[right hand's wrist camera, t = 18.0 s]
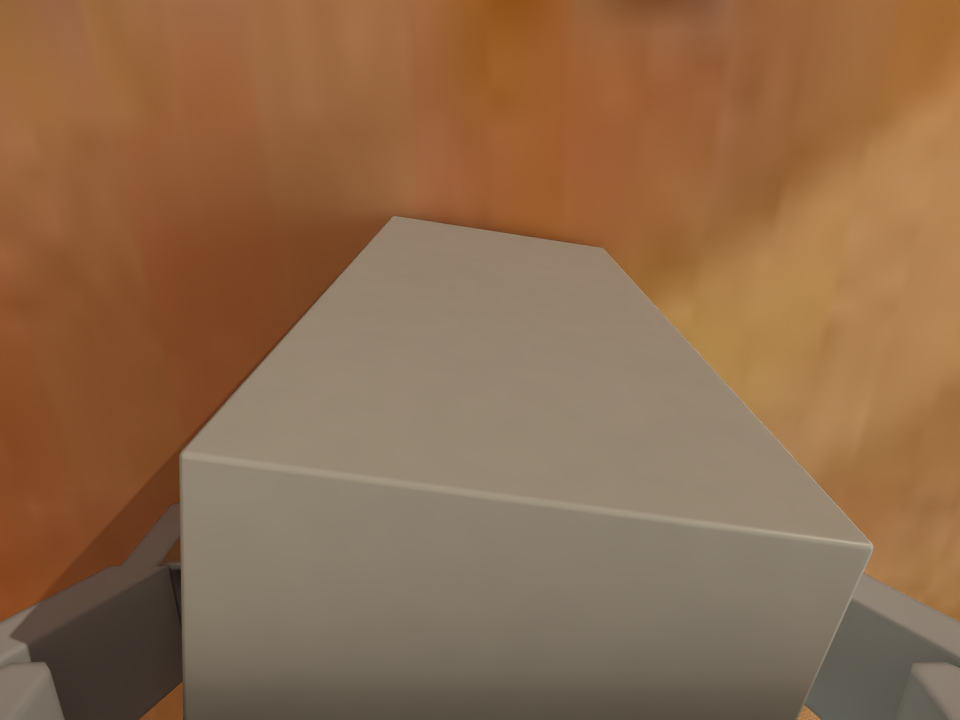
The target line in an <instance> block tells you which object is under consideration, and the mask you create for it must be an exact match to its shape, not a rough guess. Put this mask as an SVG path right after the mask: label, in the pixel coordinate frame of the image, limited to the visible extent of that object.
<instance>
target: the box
mask: <svg viewBox="0 0 960 720" xmlns="http://www.w3.org/2000/svg"><path fill="white" fill-rule="evenodd" d="M179 487H180V546H181V606H182V665H183V720H797V719H798V717H799V715H800V712H801V710H802V708H803V706H804V703H805V701H806V699H807V697H808V695H809V692H810V690H811V688H812V686H813V683H814V681H815V679H816V677H817V674H818V672H819V670H820V668H821V666H822V663H823V661H824V659H825V657H826V654H827V652H828V650H829V648H830V646H831V643H832V641H833V639H834V637H835V634H836V632H837V630H838V628H839V625H840V623H841V621H842V619H843V617H844V614H845V612H846V610H847V608H848V605H849V603H850V601H851V599H852V596H853V594H854V592H855V590H856V588H857V585H858V583H859V581H860V579H861V576H862V574H863V572H864V570H865V568H866V565H867V563H868V561H869V559H870V556H871V554H872V552H873V545H872V543H871V542H870V541H869V540H868V539H867V537H866V536H865V535H864V534H863V533H862V532H861V531H860V530H859V529H858V528H857V526H856V525H855V524H854V523H853V522H852V521H851V520H850V519H849V518H848V517H847V515H846V514H845V513H844V512H843V511H842V510H841V509H840V508H839V507H838V506H837V505H836V503H835V502H834V501H833V500H832V499H831V498H830V497H829V496H828V495H827V494H826V492H825V491H824V490H823V489H822V488H821V487H820V486H819V485H818V484H817V483H816V481H815V480H814V479H813V478H812V477H811V476H810V475H809V474H808V473H807V472H806V471H805V469H804V468H803V467H802V466H801V465H800V464H799V463H798V462H797V461H796V460H795V458H794V457H793V456H792V455H791V454H790V453H789V452H788V451H787V450H786V449H785V447H784V446H783V445H782V444H781V443H780V442H779V441H778V440H777V439H776V438H775V437H774V435H773V434H772V433H771V432H770V431H769V430H768V429H767V428H766V427H765V426H764V424H763V423H762V422H761V421H760V420H759V419H758V418H757V417H756V416H755V415H754V413H753V412H752V411H751V410H750V409H749V408H748V407H747V406H746V405H745V404H744V402H743V401H742V400H741V399H740V398H739V397H738V396H737V395H736V394H735V393H734V392H733V390H732V389H731V388H730V387H729V386H728V385H727V384H726V383H725V382H724V381H723V379H722V378H721V377H720V376H719V375H718V374H717V373H716V372H715V371H714V370H713V368H712V367H711V366H710V365H709V364H708V363H707V362H706V361H705V360H704V359H703V358H702V356H701V355H700V354H699V353H698V352H697V351H696V350H695V349H694V348H693V347H692V345H691V344H690V343H689V342H688V341H687V340H686V339H685V338H684V337H683V336H682V334H681V333H680V332H679V331H678V330H677V329H676V328H675V327H674V326H673V325H672V324H671V322H670V321H669V320H668V319H667V318H666V317H665V316H664V315H663V314H662V313H661V311H660V310H659V309H658V308H657V307H656V306H655V305H654V304H653V303H652V302H651V300H650V299H649V298H648V297H647V296H646V295H645V294H644V293H643V292H642V291H641V290H640V288H639V287H638V286H637V285H636V284H635V283H634V282H633V281H632V280H631V279H630V277H629V276H628V275H627V274H626V273H625V272H624V271H623V270H622V269H621V268H620V266H619V265H618V264H617V263H616V262H615V261H614V260H613V259H612V258H611V257H610V255H609V254H608V253H607V252H606V251H605V250H604V249H603V248H599V247H592V246H586V245H579V244H573V243H566V242H560V241H554V240H547V239H541V238H534V237H528V236H521V235H515V234H508V233H502V232H495V231H489V230H482V229H476V228H469V227H463V226H456V225H450V224H443V223H437V222H431V221H424V220H418V219H411V218H405V217H398V216H392V218H391V219H390V220H389V221H388V222H387V223H386V224H385V225H384V226H383V228H382V229H381V230H380V231H379V232H378V233H377V234H376V235H375V236H374V238H373V239H372V240H371V241H370V242H369V243H368V244H367V245H366V246H365V248H364V249H363V250H362V251H361V252H360V253H359V254H358V255H357V256H356V258H355V259H354V260H353V261H352V262H351V263H350V264H349V265H348V266H347V268H346V269H345V270H344V271H343V272H342V273H341V274H340V275H339V276H338V278H337V279H336V280H335V281H334V282H333V283H332V284H331V285H330V286H329V288H328V289H327V290H326V291H325V292H324V293H323V294H322V295H321V296H320V298H319V299H318V300H317V301H316V302H315V303H314V304H313V305H312V306H311V308H310V309H309V310H308V311H307V312H306V313H305V314H304V315H303V316H302V318H301V319H300V320H299V321H298V322H297V323H296V324H295V325H294V326H293V328H292V329H291V330H290V331H289V332H288V333H287V334H286V335H285V336H284V338H283V339H282V340H281V341H280V342H279V343H278V344H277V345H276V346H275V348H274V349H273V350H272V351H271V352H270V353H269V354H268V355H267V356H266V358H265V359H264V360H263V361H262V362H261V363H260V364H259V365H258V366H257V368H256V369H255V370H254V371H253V372H252V373H251V374H250V375H249V376H248V378H247V379H246V380H245V381H244V382H243V383H242V384H241V385H240V386H239V388H238V389H237V390H236V391H235V392H234V393H233V394H232V395H231V396H230V398H229V399H228V400H227V401H226V402H225V403H224V404H223V405H222V406H221V408H220V409H219V410H218V411H217V412H216V413H215V414H214V415H213V416H212V418H211V419H210V420H209V421H208V422H207V423H206V424H205V425H204V426H203V428H202V429H201V430H200V431H199V432H198V433H197V434H196V435H195V436H194V438H193V439H192V440H191V441H190V442H189V443H188V444H187V445H186V446H185V448H184V449H183V450H182V451H181V453H180V455H179Z"/></svg>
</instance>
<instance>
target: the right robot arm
mask: <svg viewBox="0 0 960 720" xmlns="http://www.w3.org/2000/svg"><path fill="white" fill-rule="evenodd" d="M182 681H183V665H182V606H181V546H180V502H178V503H175V504H171V505H170V506H169V507H168V509H167V510H166V511H165V512H164V514H163V515H162V516H161V517H160V518H159V520H158V521H157V522H156V523H155V525H154V526H153V527H152V528H151V529H150V531H149V532H148V533H147V534H146V535H145V537H144V538H143V539H142V540H141V542H140V543H139V544H138V545H137V546H136V548H135V549H134V550H133V551H132V553H131V554H130V555H129V556H128V557H127V559H126V560H125V561H124V562H123V564H122V565H121V566H109V567H107V568H105V569H103V570H101V571H99V572H97V573H96V574H94V575H92V576H90V577H88V578H86V579H84V580H82V581H80V582H78V583H76V584H74V585H72V586H70V587H68V588H66V589H64V590H62V591H60V592H58V593H56V594H54V595H52V596H50V597H48V598H46V599H44V600H42V601H40V602H38V603H36V604H35V605H33V606H31V607H29V608H27V609H25V610H23V611H21V612H19V613H17V614H15V615H13V616H11V617H9V618H7V619H5V620H3V621H1V622H0V720H139V719H140V718H141V717H142V716H143V715H145V714H146V713H147V712H148V711H149V710H150V709H151V708H152V707H154V706H155V705H156V704H157V703H158V702H159V701H160V700H162V699H163V698H164V697H165V696H166V695H167V694H168V693H170V692H171V691H172V690H173V689H174V688H175V687H176V686H178V685H179V684H180V683H181V682H182ZM804 705H805V706H807V707H808V708H809V709H810V710H811V711H812V712H813V713H815V714H816V715H817V716H818V717H819V718H820V719H821V720H960V622H959V621H957V620H955V619H953V618H951V617H949V616H947V615H945V614H943V613H941V612H939V611H937V610H935V609H933V608H931V607H929V606H927V605H925V604H923V603H921V602H919V601H917V600H915V599H913V598H911V597H909V596H908V595H906V594H904V593H902V592H900V591H898V590H896V589H894V588H892V587H890V586H888V585H886V584H884V583H882V582H880V581H878V580H876V579H874V578H872V577H870V576H868V575H866V574H864V573H863V574H862V576H861V579H860V581H859V583H858V585H857V588H856V590H855V592H854V594H853V596H852V599H851V601H850V603H849V605H848V608H847V610H846V612H845V614H844V617H843V619H842V621H841V623H840V625H839V628H838V630H837V632H836V634H835V637H834V639H833V641H832V643H831V646H830V648H829V650H828V652H827V654H826V657H825V659H824V661H823V663H822V666H821V668H820V670H819V672H818V674H817V677H816V679H815V681H814V683H813V686H812V688H811V690H810V692H809V695H808V697H807V699H806V701H805V703H804Z"/></svg>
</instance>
